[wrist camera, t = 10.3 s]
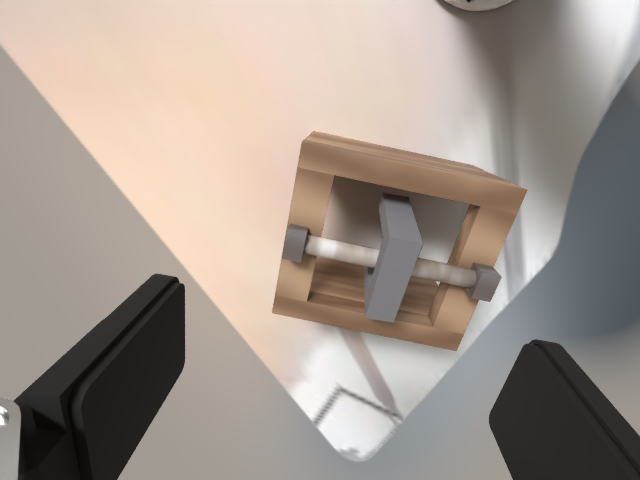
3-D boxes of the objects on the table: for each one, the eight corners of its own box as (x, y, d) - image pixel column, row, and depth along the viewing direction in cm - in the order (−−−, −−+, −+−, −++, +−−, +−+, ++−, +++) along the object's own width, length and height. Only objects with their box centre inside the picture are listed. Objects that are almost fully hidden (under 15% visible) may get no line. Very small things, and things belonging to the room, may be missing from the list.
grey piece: (382, 192, 31) (389, 237, 24) (408, 197, 31) (422, 242, 24) (363, 263, 35) (365, 317, 28) (386, 267, 35) (393, 322, 28)
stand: (313, 131, 37) (298, 144, 24) (472, 165, 38) (541, 196, 25) (289, 259, 43) (267, 325, 30) (427, 288, 44) (463, 365, 31)
